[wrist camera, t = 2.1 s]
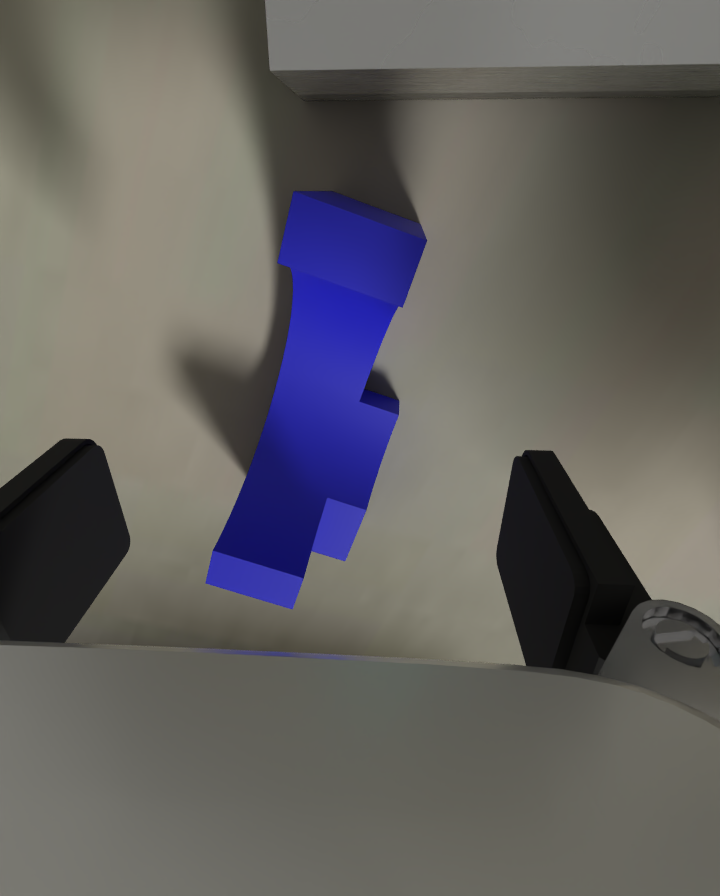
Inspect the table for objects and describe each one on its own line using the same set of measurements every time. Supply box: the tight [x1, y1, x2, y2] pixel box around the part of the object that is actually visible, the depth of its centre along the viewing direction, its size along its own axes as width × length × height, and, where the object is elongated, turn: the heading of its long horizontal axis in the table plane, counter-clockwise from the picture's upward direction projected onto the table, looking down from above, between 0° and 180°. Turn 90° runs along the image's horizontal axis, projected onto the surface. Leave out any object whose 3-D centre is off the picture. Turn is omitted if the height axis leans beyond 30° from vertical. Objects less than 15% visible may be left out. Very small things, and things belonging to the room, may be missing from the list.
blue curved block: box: [206, 191, 427, 609], centre depth 16 cm, size 12×4×6 cm, turn 162°
